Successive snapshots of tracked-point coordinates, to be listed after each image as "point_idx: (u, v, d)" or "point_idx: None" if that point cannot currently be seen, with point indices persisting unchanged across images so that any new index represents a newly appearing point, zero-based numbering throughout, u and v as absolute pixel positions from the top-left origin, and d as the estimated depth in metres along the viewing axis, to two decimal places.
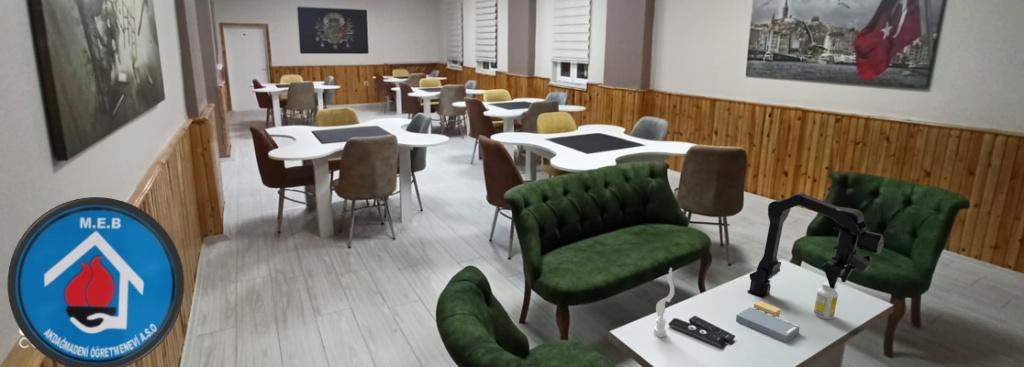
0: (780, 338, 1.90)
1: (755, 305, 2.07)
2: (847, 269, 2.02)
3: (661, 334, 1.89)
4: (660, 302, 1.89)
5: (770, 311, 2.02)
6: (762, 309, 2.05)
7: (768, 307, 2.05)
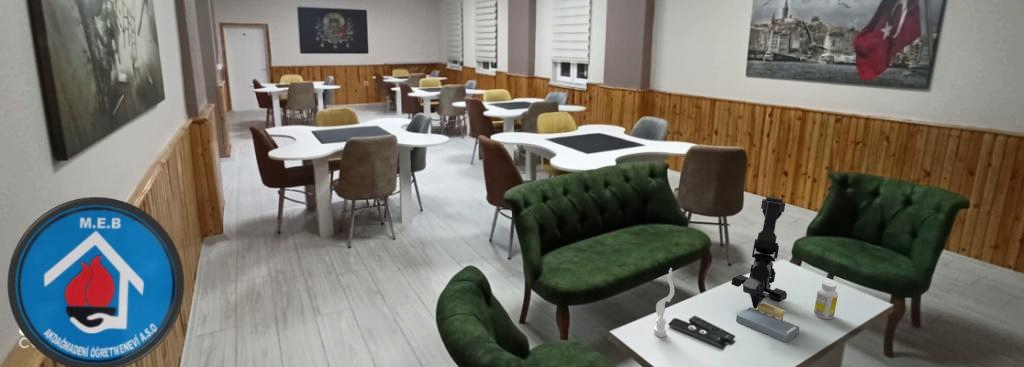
0: (780, 338, 1.90)
1: (759, 307, 2.06)
2: None
3: (661, 334, 1.89)
4: (660, 302, 1.89)
5: (774, 312, 2.01)
6: (766, 311, 2.04)
7: (772, 308, 2.04)
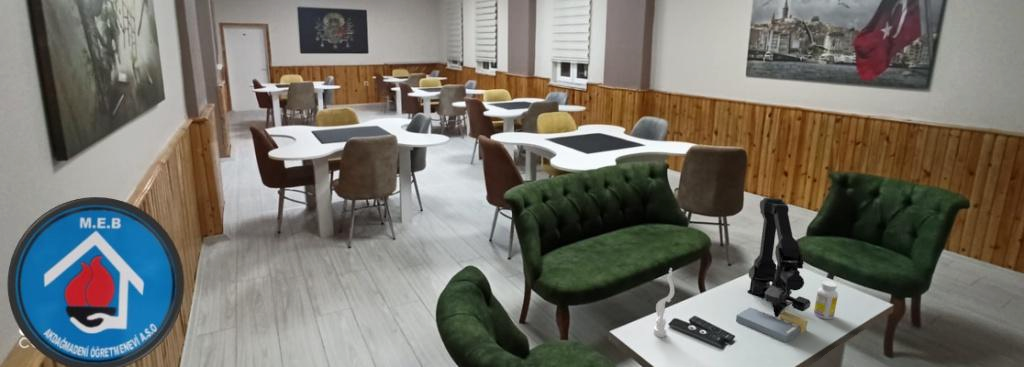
0: (780, 338, 1.90)
1: (781, 315, 2.00)
2: None
3: (661, 334, 1.89)
4: (660, 302, 1.89)
5: (797, 321, 1.95)
6: (788, 320, 1.98)
7: (795, 317, 1.98)
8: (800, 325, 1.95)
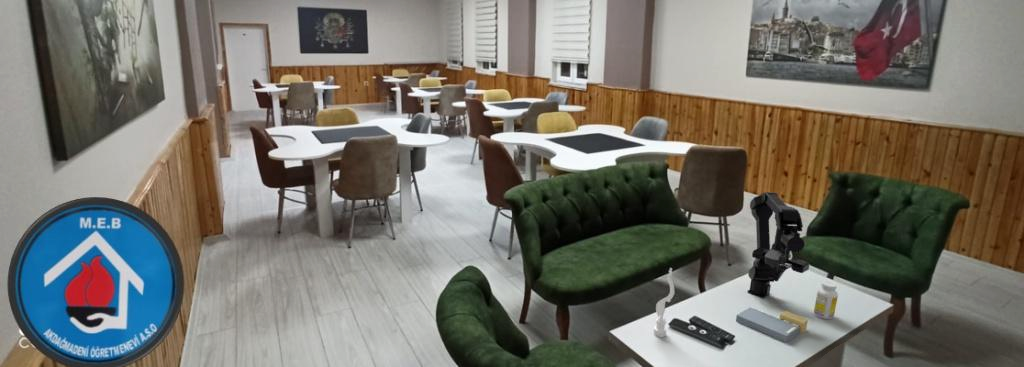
0: (780, 338, 1.90)
1: (781, 315, 2.00)
2: None
3: (661, 334, 1.89)
4: (660, 302, 1.89)
5: (797, 321, 1.95)
6: (789, 320, 1.98)
7: (795, 317, 1.98)
8: (800, 325, 1.95)
